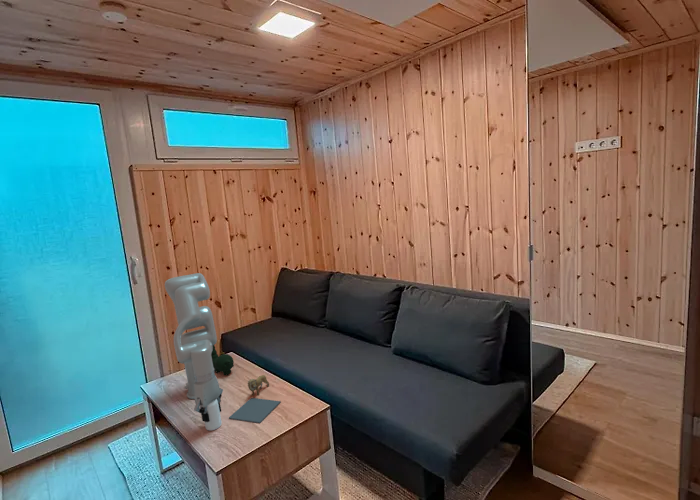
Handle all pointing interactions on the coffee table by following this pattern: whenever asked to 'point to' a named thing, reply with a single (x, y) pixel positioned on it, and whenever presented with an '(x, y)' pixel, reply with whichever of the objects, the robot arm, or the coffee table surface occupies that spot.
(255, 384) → the lion figurine
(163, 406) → the coffee table surface
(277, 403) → the mat
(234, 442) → the coffee table surface
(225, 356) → the toy figurine
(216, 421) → the can
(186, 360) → the robot arm
